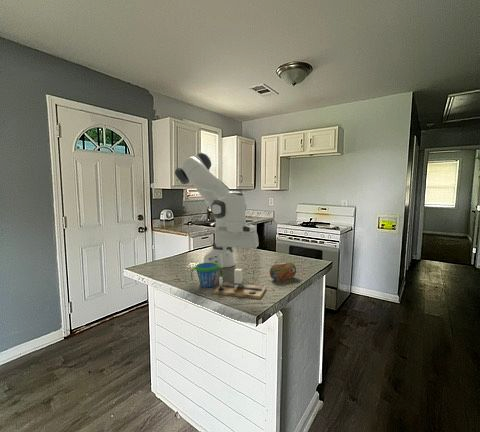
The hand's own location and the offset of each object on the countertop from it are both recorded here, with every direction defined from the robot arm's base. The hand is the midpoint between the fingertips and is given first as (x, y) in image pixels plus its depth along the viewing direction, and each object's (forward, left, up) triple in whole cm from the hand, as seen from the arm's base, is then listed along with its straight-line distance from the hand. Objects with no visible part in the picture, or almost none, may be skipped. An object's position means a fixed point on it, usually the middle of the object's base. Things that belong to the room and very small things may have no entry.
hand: (236, 256), depth 123 cm
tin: (+18, +22, -16) cm, 33 cm away
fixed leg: (-6, -4, -15) cm, 17 cm away
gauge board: (+2, -1, -16) cm, 16 cm away
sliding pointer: (+1, -1, -14) cm, 14 cm away
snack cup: (-16, +2, -16) cm, 23 cm away
